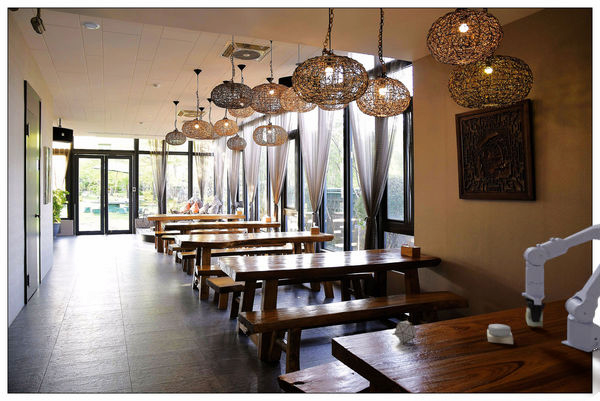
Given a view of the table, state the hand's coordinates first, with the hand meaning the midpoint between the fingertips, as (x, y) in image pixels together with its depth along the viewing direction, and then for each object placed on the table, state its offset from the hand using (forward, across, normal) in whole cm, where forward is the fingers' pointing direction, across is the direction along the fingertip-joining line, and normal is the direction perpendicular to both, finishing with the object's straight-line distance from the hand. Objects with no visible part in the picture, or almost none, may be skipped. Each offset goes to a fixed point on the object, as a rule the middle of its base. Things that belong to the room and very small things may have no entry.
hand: (534, 319), depth 157 cm
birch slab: (+9, 0, -11) cm, 14 cm away
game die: (+8, +13, -43) cm, 46 cm away
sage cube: (+2, 0, 0) cm, 2 cm away
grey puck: (+6, 0, -11) cm, 13 cm away
